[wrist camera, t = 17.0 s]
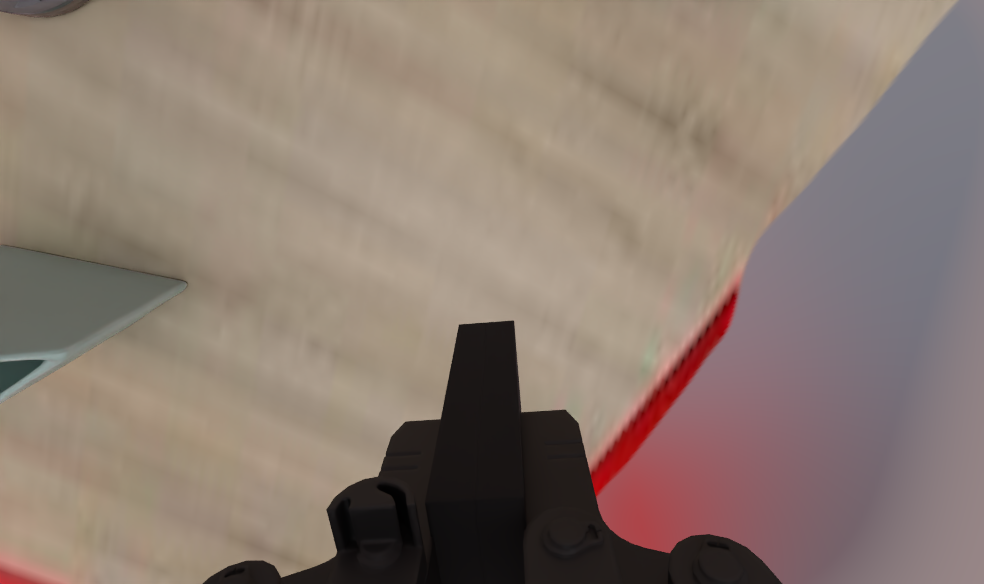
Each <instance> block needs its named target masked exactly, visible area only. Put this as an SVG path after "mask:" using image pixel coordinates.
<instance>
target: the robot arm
mask: <svg viewBox="0 0 984 584" xmlns="http://www.w3.org/2000/svg"><path fill="white" fill-rule="evenodd" d="M88 1H89V0H0V11H2V12H7V13H12V14H17V15H23V16H29V17H52V16H58V15H62V14H66V13H68V12H71V11H73V10H75V9H77V8H79V7H81V6H82V5H84V4H85V3H86V2H88ZM327 513H328V517H329V521H330V525H331V529H332V533H333V537H334V541H335V544H336V548H337V554H336V556H335V557H334V558H332V559H330V560H329V561H327V562H325V563H322V564H320V565H318V566H315V567H313V568H310V569H307V570H304V571H301V572H297V573H294V574H291V575H288V576H285V577H282V578H281V576H280V575H279V573H278V571H277V570H276V568H275V566H274V565H271V564H269V563H267V562H265V561H244V562H241V563H238V564H235V565H231V566H228V567H226V568H225V569H223V570H221V571H220V572H218V573H216V574H214V575H213V576H211V577H210V578H208V579H207V580H206V581H205V582H204V583H203V584H782V583H781V582H780V581H779V579H778V578H777V577H776V576H775V575H774V574H773V572H772V571H771V570H770V569H769V568H768V567H767V566H766V565H765V563H763V561H762V560H761V559H760V558H758V557H757V556H756V555H755V554H754V553H753V552H751V551H750V550H749V549H748V548H747V547H745V546H742V545H741V544H739V543H737V542H735V541H733V540H730V539H728V538H724V537H719V536H714V535H710V534H707V535H695V536H690V537H688V538H686V539H684V540H682V541H680V542H678V543H677V544H676V546H675V547H674V549H673V550H672V551H671V553H665V552H661V551H657V550H652V549H647V548H643V547H641V546H638V545H634V544H631V543H629V542H628V541H626V540H624V539H622V538H620V537H619V536H617V535H616V534H615V533H614V532H613V531H612V530H610V529H609V527H608V526H607V525H606V524H605V522H604V521H603V519H602V517H601V514H600V512H599V509H598V504H597V500H596V496H595V492H594V488H593V483H592V479H591V475H590V471H589V467H588V462H587V458H586V454H585V450H584V445H583V443H582V437H581V433H580V429H579V424H578V422H577V421H576V420H575V419H574V418H573V417H572V416H571V415H570V414H569V413H568V412H567V411H566V410H553V411H537V412H522V413H521V402H520V390H519V377H518V365H517V352H516V340H515V327H514V321H502V322H488V323H475V324H461V325H459V328H458V333H457V338H456V343H455V348H454V354H453V359H452V364H451V369H450V374H449V380H448V385H447V390H446V395H445V400H444V406H443V411H442V416H441V419H439V420H424V421H408V422H405V423H404V424H403V425H402V426H401V427H400V428H399V429H398V430H397V431H396V432H395V433H394V434H393V436H392V437H391V439H390V442H389V445H388V448H387V451H386V457H385V458H384V461H383V464H382V467H381V471H380V473H379V476H378V477H374V478H369V479H364V480H362V481H359V482H357V483H355V484H353V485H351V486H348V487H347V488H346V489H345V490H343V491H342V492H341V493H340V494H338V495H337V496H336V497H335V498H334V499H333V501H332V502H331V504H330V505H329V507H328V508H327Z"/></svg>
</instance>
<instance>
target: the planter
mask: <svg viewBox="0 0 984 584" xmlns="http://www.w3.org/2000/svg"><path fill="white" fill-rule="evenodd" d="M186 287H187V283H186V282H184V281H181V280H176V279H171V278H166V277H161V276H156V275H151V274H146V273H141V272H137V271H132V270H127V269H122V268H117V267H112V266H107V265H102V264H97V263H92V262H87V261H82V260H77V259H72V258H67V257H62V256H57V255H52V254H47V253H42V252H37V251H32V250H27V249H22V248H17V247H11V246H6V245H1V246H0V404H1V403H3V402H4V401H6V400H7V399H9V398H11V397H12V396H14V395H16V394H17V393H19V392H21V391H23V390H24V389H26V388H28V387H29V386H31V385H33V384H34V383H36V382H38V381H39V380H41V379H43V378H44V377H46V376H48V375H49V374H51V373H53V372H55V371H56V370H58V369H60V368H61V367H63V366H65V365H66V364H68V363H70V362H71V361H73V360H74V359H76V358H78V357H79V356H81V355H83V354H84V353H86V352H87V351H89V350H91V349H92V348H94V347H95V346H97V345H99V344H100V343H102V342H104V341H105V340H107V339H108V338H110V337H112V336H114V335H115V334H117V333H119V332H121V331H123V330H124V329H126V328H127V327H129V326H130V325H132V324H133V323H135V322H136V321H138V320H139V319H141V318H142V317H144V316H145V315H146V314H148V313H149V312H151V311H152V310H154V309H155V308H156V307H158V306H159V305H161V304H163V303H164V302H166V301H168V300H169V299H171V298H172V297H174V296H176V295H177V294H179V293H181V292H182V291H183V290H184V289H185V288H186Z"/></svg>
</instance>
